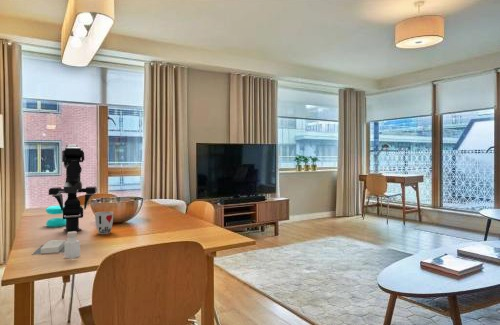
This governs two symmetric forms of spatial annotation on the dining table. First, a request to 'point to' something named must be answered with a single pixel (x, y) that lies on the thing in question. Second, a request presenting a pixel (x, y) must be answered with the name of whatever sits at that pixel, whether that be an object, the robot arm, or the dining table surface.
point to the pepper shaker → (72, 245)
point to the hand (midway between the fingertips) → (73, 209)
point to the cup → (104, 221)
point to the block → (52, 246)
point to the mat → (47, 253)
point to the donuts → (55, 221)
